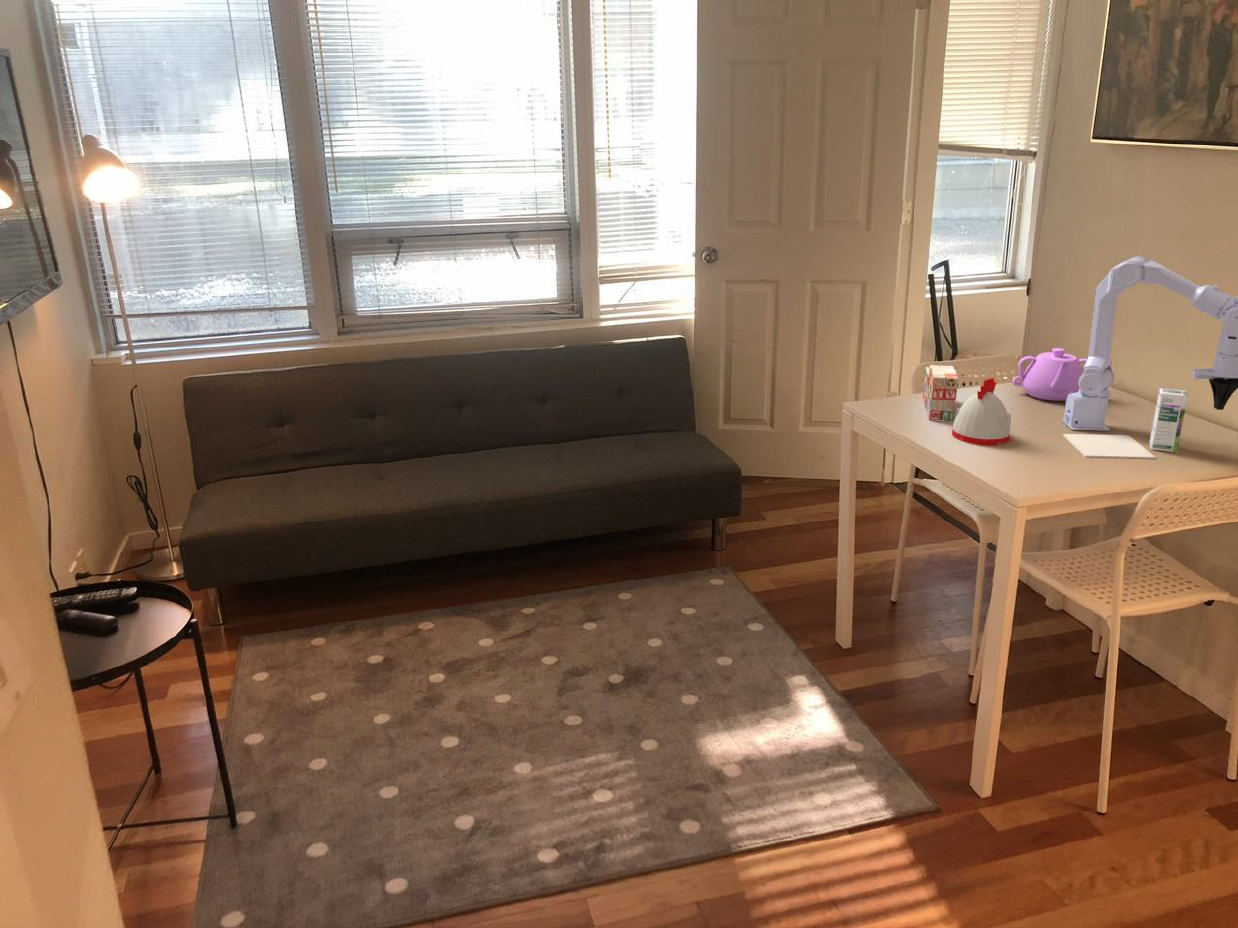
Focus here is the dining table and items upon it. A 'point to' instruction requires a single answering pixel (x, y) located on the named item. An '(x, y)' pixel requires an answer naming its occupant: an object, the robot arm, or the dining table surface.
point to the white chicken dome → (983, 418)
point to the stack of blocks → (940, 392)
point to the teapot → (1051, 375)
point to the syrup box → (1168, 419)
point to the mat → (1108, 446)
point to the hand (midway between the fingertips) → (1218, 408)
